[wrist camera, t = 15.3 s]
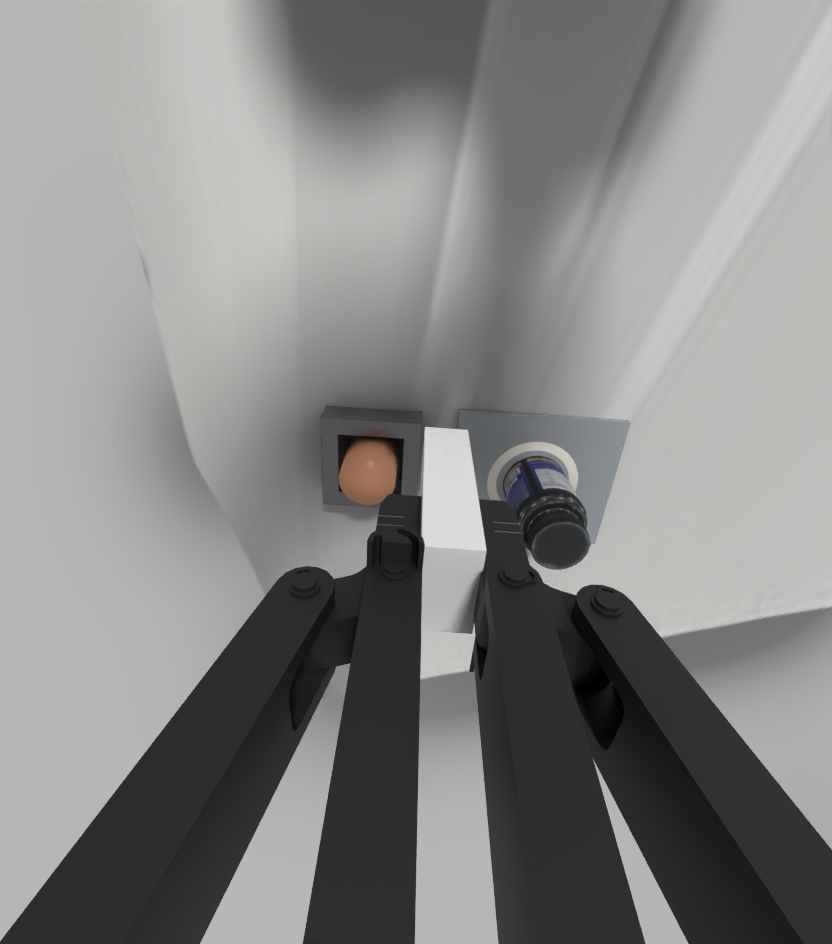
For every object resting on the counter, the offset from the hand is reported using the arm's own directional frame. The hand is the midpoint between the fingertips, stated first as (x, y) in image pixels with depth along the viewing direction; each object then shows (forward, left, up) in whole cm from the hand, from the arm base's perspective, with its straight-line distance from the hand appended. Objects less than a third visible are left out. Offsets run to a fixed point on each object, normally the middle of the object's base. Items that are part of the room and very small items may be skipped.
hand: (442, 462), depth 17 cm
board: (+15, +11, -27) cm, 33 cm away
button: (+13, -5, -27) cm, 30 cm away
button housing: (+13, -5, -27) cm, 31 cm away
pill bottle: (+15, +11, -27) cm, 33 cm away
